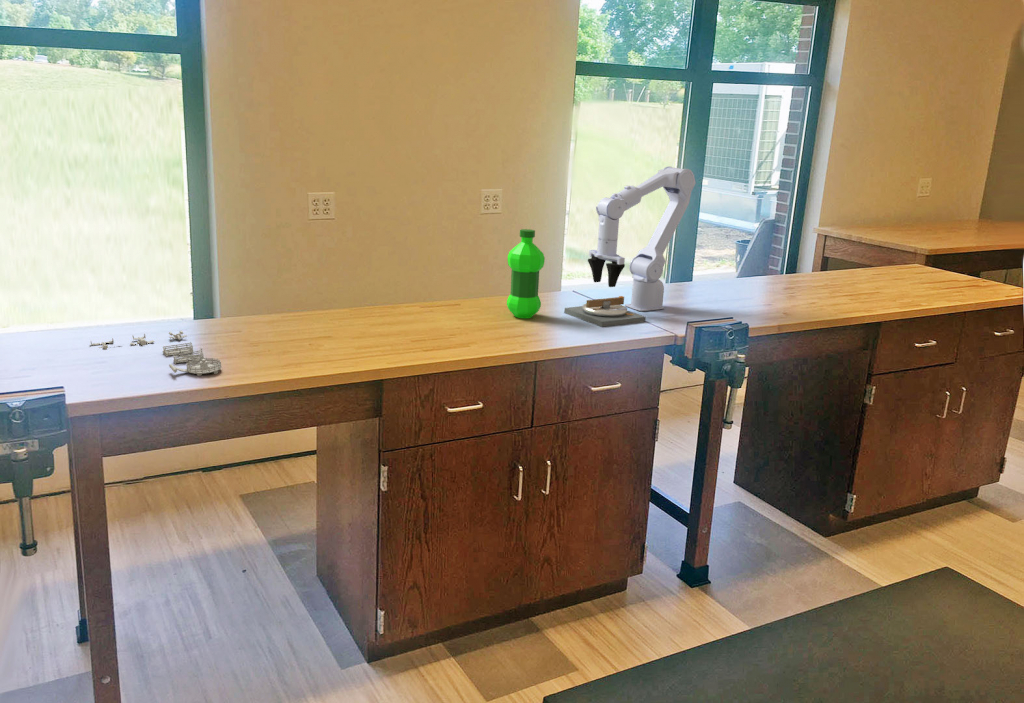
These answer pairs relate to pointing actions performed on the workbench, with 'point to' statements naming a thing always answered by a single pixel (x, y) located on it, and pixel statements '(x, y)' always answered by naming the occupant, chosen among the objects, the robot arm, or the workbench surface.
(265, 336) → the workbench surface
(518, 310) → the plastic bottle
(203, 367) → the drone parts
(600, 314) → the dial
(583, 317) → the stand plate
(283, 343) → the workbench surface
